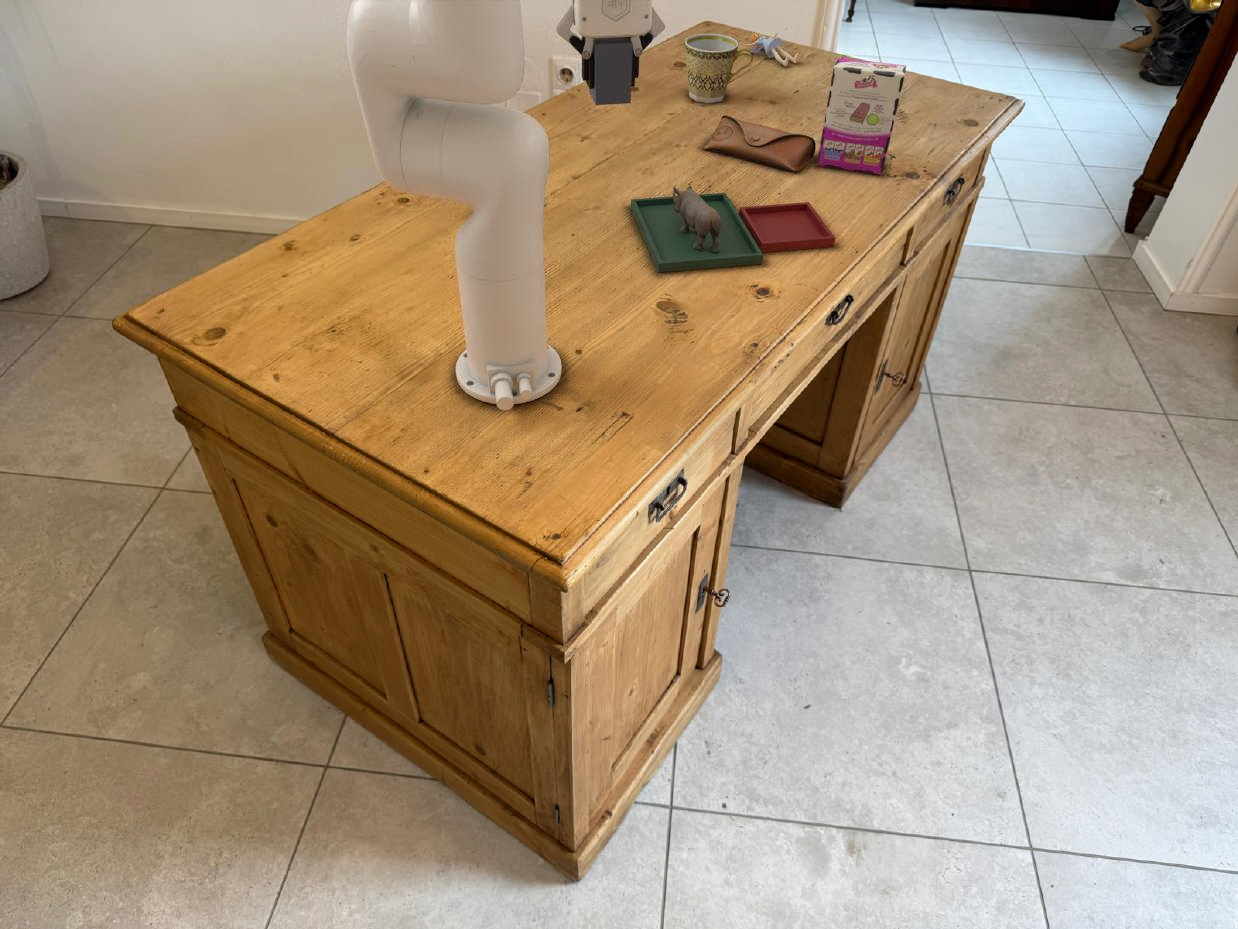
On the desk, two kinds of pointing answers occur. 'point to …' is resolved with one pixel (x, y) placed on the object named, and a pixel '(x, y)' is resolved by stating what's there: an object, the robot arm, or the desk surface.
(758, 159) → the sunglasses case
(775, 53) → the fairy figurine
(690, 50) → the ceramic cup
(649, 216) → the green tray
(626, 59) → the block
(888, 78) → the candy bar box
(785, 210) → the burgundy tray
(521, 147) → the robot arm
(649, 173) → the desk surface
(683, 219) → the rhino figurine
